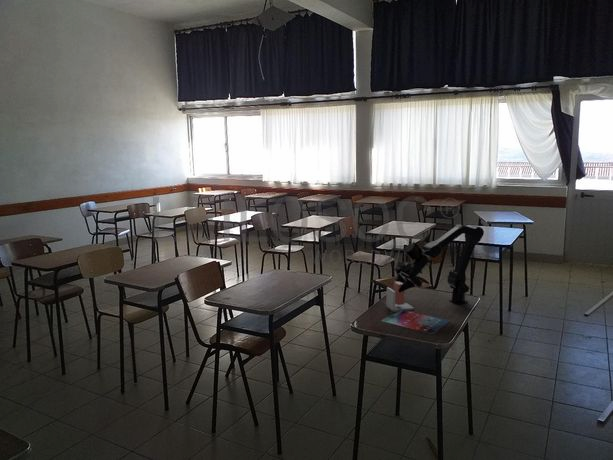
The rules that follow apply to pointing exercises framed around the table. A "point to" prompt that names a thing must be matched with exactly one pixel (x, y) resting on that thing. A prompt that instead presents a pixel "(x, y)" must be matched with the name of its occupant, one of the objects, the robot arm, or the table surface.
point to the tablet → (416, 321)
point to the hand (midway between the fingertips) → (396, 290)
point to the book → (398, 293)
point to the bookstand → (391, 302)
